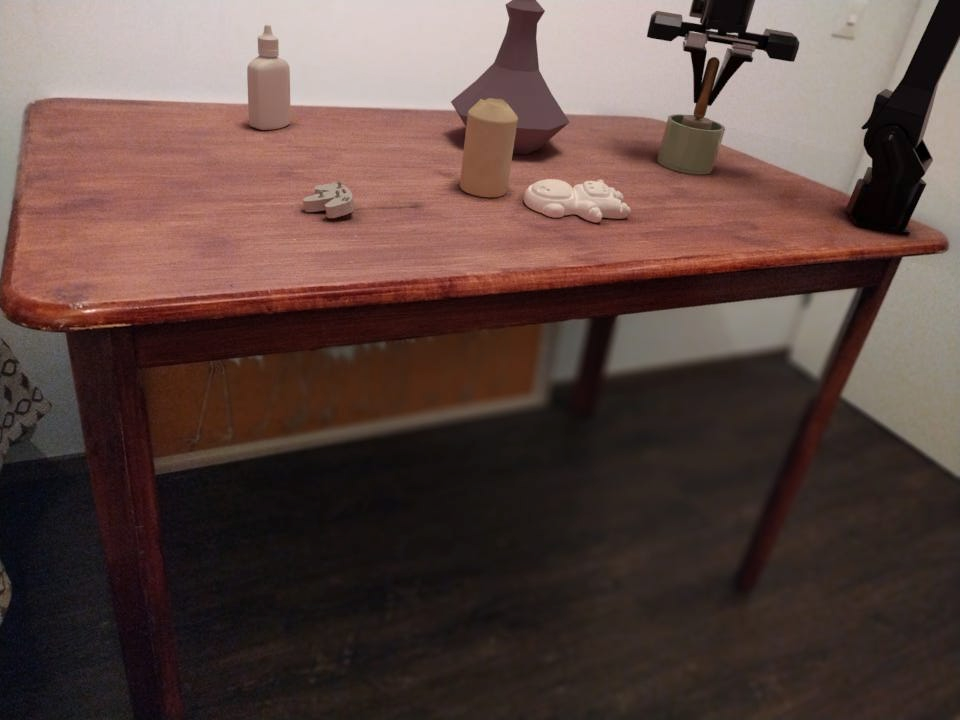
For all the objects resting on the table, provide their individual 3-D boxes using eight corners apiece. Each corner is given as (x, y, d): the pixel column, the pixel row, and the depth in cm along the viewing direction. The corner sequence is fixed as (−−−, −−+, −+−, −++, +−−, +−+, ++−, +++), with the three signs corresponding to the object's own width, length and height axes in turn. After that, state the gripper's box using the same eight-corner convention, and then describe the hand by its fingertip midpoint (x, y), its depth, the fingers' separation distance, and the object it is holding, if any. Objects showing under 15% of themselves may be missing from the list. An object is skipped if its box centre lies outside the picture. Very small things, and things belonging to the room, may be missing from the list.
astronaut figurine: (632, 228, 81) (638, 202, 79) (523, 214, 80) (528, 187, 78) (621, 200, 88) (627, 176, 86) (522, 187, 87) (526, 162, 86)
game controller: (292, 204, 74) (292, 179, 73) (385, 189, 81) (387, 166, 80) (323, 224, 71) (323, 198, 69) (417, 207, 78) (419, 183, 77)
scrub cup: (710, 162, 107) (722, 121, 104) (713, 178, 101) (727, 134, 97) (657, 152, 108) (667, 111, 105) (656, 167, 101) (668, 123, 98)
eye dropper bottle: (243, 121, 95) (239, 20, 89) (286, 120, 98) (285, 22, 91) (252, 131, 92) (248, 28, 86) (296, 130, 95) (296, 30, 88)
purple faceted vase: (559, 171, 95) (592, 0, 84) (435, 149, 96) (451, -22, 85) (567, 137, 108) (595, -13, 98) (458, 119, 109) (474, -32, 99)
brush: (703, 146, 104) (729, 57, 98) (705, 154, 101) (731, 62, 95) (675, 141, 105) (699, 52, 98) (675, 148, 101) (700, 57, 95)
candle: (502, 201, 82) (515, 111, 77) (454, 192, 83) (464, 101, 78) (510, 186, 87) (523, 99, 82) (465, 177, 88) (475, 91, 82)
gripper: (804, -18, 97) (764, 103, 105) (663, -40, 99) (635, 81, 108) (819, -11, 88) (774, 121, 96) (663, -35, 90) (633, 96, 98)
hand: (702, 103), depth 100 cm, fingers closed on brush, 2 cm apart
